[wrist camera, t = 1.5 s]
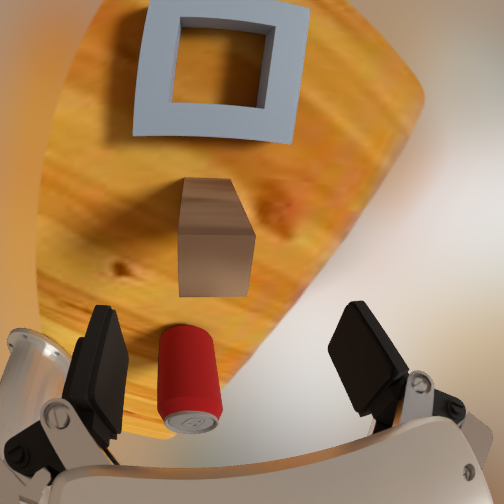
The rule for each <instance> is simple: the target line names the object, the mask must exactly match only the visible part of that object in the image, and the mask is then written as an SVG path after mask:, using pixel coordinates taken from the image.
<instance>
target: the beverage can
mask: <svg viewBox="0 0 504 504" xmlns="http://www.w3.org/2000/svg"><path fill="white" fill-rule="evenodd" d="M157 409H158V412H159V414H160V416H161V417H162V419H163V421H164V423H165V426H166V427H167V428H168V429H170V430H172V431H174V432H178V433H183V434H200V433H205V432H208V431H211V430H213V429H215V428H216V427H217V426H218V420H219V417H220V416H221V413H222V411H223V407H222V400H221V393H220V386H219V379H218V372H217V365H216V359H215V352H214V345H213V340H212V337H211V336H210V334H209V333H208V332H206V331H205V330H203V329H201V328H199V327H196V326H191V325H180V326H175V327H172V328H170V329H168V330H166V331H165V332H164V333H163V334H162V336H161V338H160V342H159V356H158V381H157Z"/></svg>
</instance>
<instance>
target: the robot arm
mask: <svg viewBox="0 0 504 504" xmlns="http://www.w3.org/2000/svg"><path fill="white" fill-rule="evenodd" d="M7 345H8V348H9V351H10V353H11V355H10V358H9V360H8V362H7V365H6V368H5V370H4V373H3V375H2V378H1V381H0V504H493V500H492V497H491V494H490V491H489V488H488V485H487V483H486V480H485V478H484V475H483V473H482V468H483V466H484V463H485V461H486V458H487V455H488V452H489V450H490V447H491V443H492V441H493V433H492V431H491V429H490V428H489V427H488V426H487V425H485V424H484V423H483V422H481V421H480V420H479V419H477V418H476V417H475V416H473V415H472V414H471V413H470V412H467V413H466V409H465V406H464V404H463V402H461V400H459V399H458V398H456V397H453V396H451V395H448V394H446V393H444V392H441V391H439V390H436V389H434V383H433V381H432V379H431V378H430V377H429V375H427V374H426V373H424V372H422V371H413V372H411V373H410V374H409V373H408V371H409V368H408V366H407V365H406V363H405V362H404V360H403V358H402V357H401V355H400V354H399V352H398V351H397V349H396V348H395V346H394V345H393V343H392V341H391V340H390V338H389V337H388V335H387V334H386V333H385V331H384V330H383V328H382V326H381V325H380V323H379V322H378V321H377V319H376V318H375V316H374V315H373V313H372V312H371V310H370V309H369V308H368V306H367V305H366V303H365V302H364V301H352V302H350V303H349V304H348V305H347V306H346V307H345V309H344V312H343V314H342V316H341V319H340V321H339V323H338V325H337V328H336V330H335V332H334V334H333V337H332V339H331V341H330V343H329V345H328V353H329V355H330V357H331V359H332V362H333V364H334V366H335V368H336V370H337V372H338V374H339V377H340V379H341V381H342V383H343V385H344V387H345V390H346V392H347V394H348V396H349V398H350V401H351V403H352V405H353V408H354V410H355V411H356V412H358V413H359V415H360V417H363V416H366V415H369V414H372V416H373V420H372V423H371V426H370V430H369V433H368V436H367V437H364V438H362V439H358V440H355V441H353V442H349V443H346V444H343V445H339V446H336V447H332V448H329V449H325V450H321V451H318V452H313V453H309V454H305V455H300V456H296V457H291V458H286V459H280V460H275V461H268V462H262V463H255V464H246V465H237V466H226V467H210V468H156V467H140V466H124V465H121V464H120V463H119V461H118V460H117V459H116V458H115V456H114V455H113V454H112V453H111V451H110V450H109V449H108V446H109V440H110V439H115V440H116V439H117V434H120V433H121V430H122V416H123V404H124V394H125V385H126V377H127V369H128V361H129V357H128V352H127V349H126V345H125V342H124V339H123V335H122V332H121V328H120V325H119V321H118V317H117V314H116V311H115V310H112V309H111V306H107V305H96V306H95V308H94V311H93V313H92V316H91V319H90V322H89V325H88V328H87V331H86V334H85V337H80V338H79V339H78V340H77V343H76V346H75V349H74V352H73V356H72V359H71V357H70V356H69V355H68V354H67V352H66V351H65V350H64V349H63V348H62V347H60V346H59V345H58V344H57V343H55V342H54V341H53V340H51V339H50V338H48V337H46V336H45V335H43V334H41V333H39V332H37V331H33V330H31V329H26V328H17V329H14V330H12V331H11V333H10V334H9V336H8V339H7ZM64 384H65V385H64ZM63 385H64V389H63ZM62 390H63V393H62ZM50 485H52V486H51V490H50V494H49V493H48V492H49V491H48V486H50Z"/></svg>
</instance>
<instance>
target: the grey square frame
mask: <svg viewBox="0 0 504 504" xmlns="http://www.w3.org/2000/svg"><path fill="white" fill-rule="evenodd" d="M309 17H310V9H309V8H305V7H302V6H298V5H294V4H290V3H286V2H281V1H276V0H150V3H149V7H148V11H147V16H146V21H145V26H144V32H143V37H142V43H141V50H140V56H139V64H138V72H137V81H136V91H135V103H134V118H133V136H203V137H222V138H236V139H248V140H258V141H268V142H276V143H284V144H292V138H293V132H294V125H295V119H296V112H297V106H298V99H299V92H300V85H301V78H302V71H303V64H304V56H305V49H306V41H307V33H308V26H309ZM182 27H195V28H214V29H226V30H235V31H243V32H251V33H257V34H263V35H266V40H265V47H264V54H263V61H262V68H261V75H260V83H259V90H258V97H257V105H256V108H253V107H244V106H233V105H221V104H205V103H172V96H173V86H174V77H175V69H176V62H177V55H178V48H179V41H180V35H181V29H182Z"/></svg>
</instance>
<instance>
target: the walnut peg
mask: <svg viewBox="0 0 504 504" xmlns="http://www.w3.org/2000/svg"><path fill="white" fill-rule="evenodd" d="M255 238H256V235H255V233H254V230H253V228H252V226H251V224H250V222H249V219H248V217H247V215H246V213H245V211H244V208H243V206H242V204H241V202H240V200H239V197H238V195H237V193H236V191H235V189H234V186H233V184H232V182H231V180H230V179H217V178H184V185H183V192H182V200H181V208H180V216H179V225H178V282H179V297H238V296H247V294H248V287H249V280H250V273H251V266H252V259H253V252H254V245H255Z"/></svg>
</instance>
